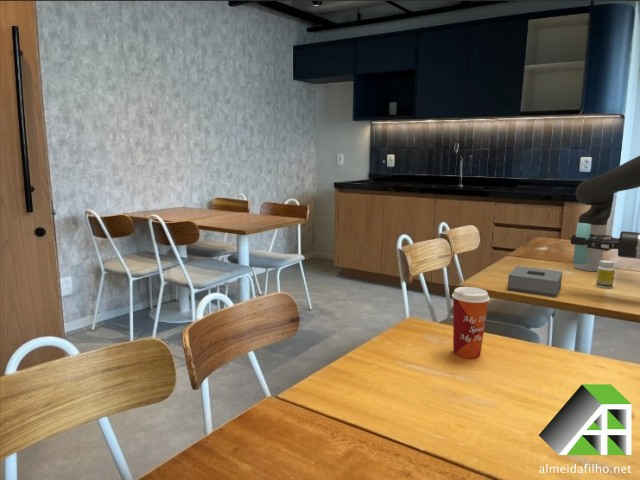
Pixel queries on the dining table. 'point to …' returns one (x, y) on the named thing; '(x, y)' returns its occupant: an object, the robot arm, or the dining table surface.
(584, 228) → the pin
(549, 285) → the socket block
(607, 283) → the supplement bottle
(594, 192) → the robot arm
